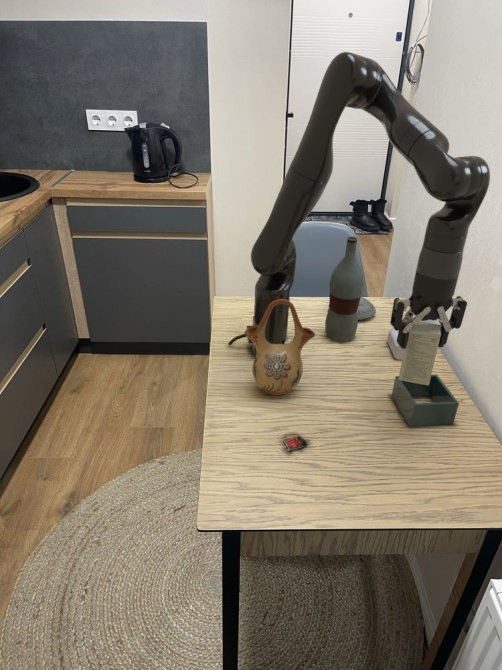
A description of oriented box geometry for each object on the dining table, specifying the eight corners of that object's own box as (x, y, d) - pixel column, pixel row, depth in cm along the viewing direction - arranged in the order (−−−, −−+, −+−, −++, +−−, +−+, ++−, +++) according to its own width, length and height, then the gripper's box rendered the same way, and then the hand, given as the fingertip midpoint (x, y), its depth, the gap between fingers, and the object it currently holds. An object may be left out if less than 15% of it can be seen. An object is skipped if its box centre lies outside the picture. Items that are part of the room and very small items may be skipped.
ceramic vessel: (307, 380, 126) (316, 290, 114) (311, 402, 118) (321, 308, 106) (243, 379, 126) (244, 289, 113) (242, 401, 118) (244, 306, 106)
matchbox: (309, 444, 105) (310, 443, 105) (291, 454, 102) (291, 452, 102) (295, 432, 108) (295, 431, 108) (277, 441, 106) (277, 439, 105)
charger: (412, 333, 149) (427, 360, 136) (381, 333, 149) (394, 359, 136) (415, 319, 147) (431, 345, 134) (384, 319, 147) (397, 344, 134)
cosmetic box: (429, 375, 105) (442, 324, 99) (428, 386, 101) (442, 335, 95) (398, 369, 106) (409, 319, 100) (397, 380, 103) (408, 329, 97)
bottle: (360, 334, 148) (375, 237, 133) (348, 347, 141) (362, 246, 126) (331, 325, 152) (342, 230, 138) (318, 337, 146) (329, 239, 131)
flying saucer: (365, 327, 152) (367, 311, 149) (320, 315, 158) (322, 299, 156) (381, 309, 163) (384, 294, 160) (339, 298, 170) (341, 283, 167)
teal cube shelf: (409, 426, 111) (414, 405, 108) (391, 396, 121) (395, 376, 118) (453, 424, 112) (459, 403, 109) (431, 394, 122) (437, 374, 119)
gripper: (464, 261, 96) (445, 335, 104) (393, 263, 94) (379, 338, 102) (484, 277, 89) (463, 354, 97) (408, 278, 88) (392, 357, 96)
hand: (420, 346), depth 100 cm, fingers closed on cosmetic box, 7 cm apart
